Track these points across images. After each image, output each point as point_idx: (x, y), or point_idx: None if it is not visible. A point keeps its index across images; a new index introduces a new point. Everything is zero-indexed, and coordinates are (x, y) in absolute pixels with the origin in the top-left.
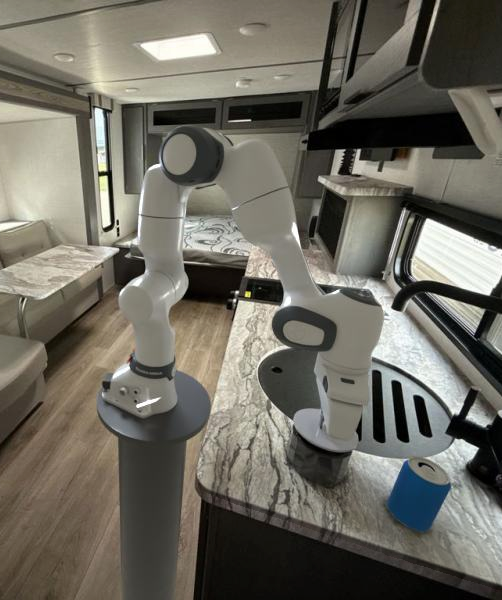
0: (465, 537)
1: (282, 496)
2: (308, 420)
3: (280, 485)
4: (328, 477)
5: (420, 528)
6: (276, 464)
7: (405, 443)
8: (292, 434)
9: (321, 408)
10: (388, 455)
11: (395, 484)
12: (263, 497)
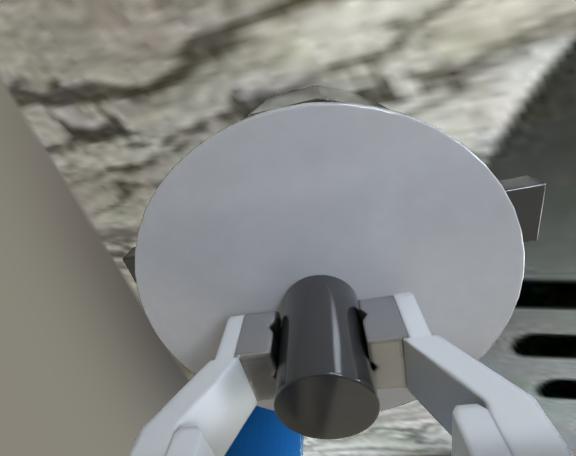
0: None
1: (86, 119)
2: (335, 215)
3: (122, 102)
4: None
5: None
6: (205, 62)
7: (532, 391)
8: (251, 112)
9: (421, 352)
10: None
11: (251, 417)
12: (23, 57)
